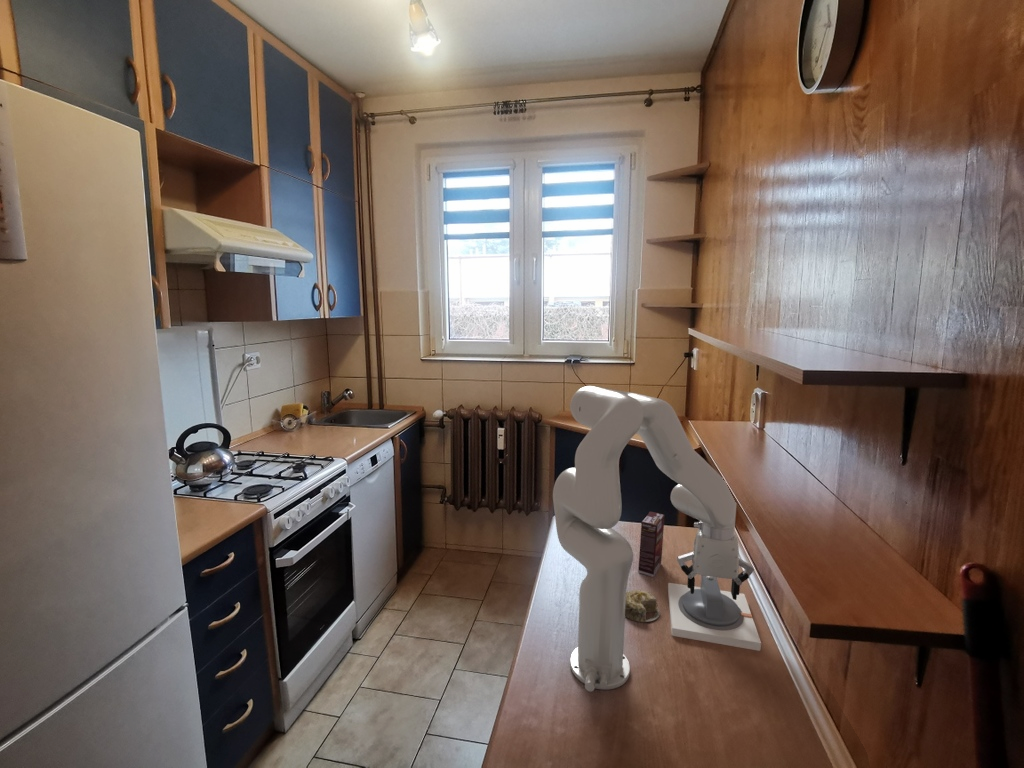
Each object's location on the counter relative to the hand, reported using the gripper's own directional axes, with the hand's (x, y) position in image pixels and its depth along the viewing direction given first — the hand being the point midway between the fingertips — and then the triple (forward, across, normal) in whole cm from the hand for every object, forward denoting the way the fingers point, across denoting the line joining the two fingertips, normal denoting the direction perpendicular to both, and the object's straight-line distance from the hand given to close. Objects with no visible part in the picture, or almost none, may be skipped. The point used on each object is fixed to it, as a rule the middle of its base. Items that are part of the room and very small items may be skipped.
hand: (712, 593), depth 118 cm
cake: (+7, -17, -2) cm, 19 cm away
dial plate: (+6, 0, 0) cm, 6 cm away
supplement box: (+7, -14, +19) cm, 24 cm away
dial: (+4, 0, 0) cm, 4 cm away
